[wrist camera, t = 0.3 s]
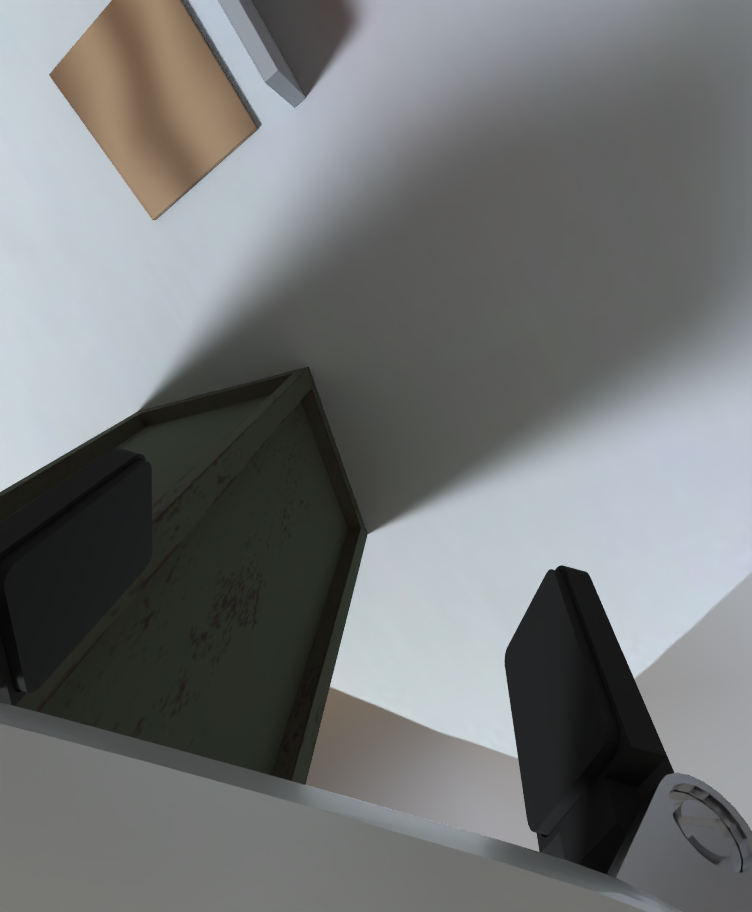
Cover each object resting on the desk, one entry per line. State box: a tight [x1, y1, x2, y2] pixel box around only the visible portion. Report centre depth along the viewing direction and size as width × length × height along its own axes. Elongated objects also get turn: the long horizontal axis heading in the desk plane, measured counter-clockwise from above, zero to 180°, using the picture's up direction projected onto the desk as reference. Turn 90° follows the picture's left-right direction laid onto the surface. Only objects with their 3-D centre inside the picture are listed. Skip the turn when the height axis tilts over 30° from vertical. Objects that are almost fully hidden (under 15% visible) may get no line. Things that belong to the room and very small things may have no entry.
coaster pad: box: [49, 0, 258, 220], centre depth 33 cm, size 11×11×1 cm
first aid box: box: [0, 367, 367, 785], centre depth 28 cm, size 18×18×40 cm
